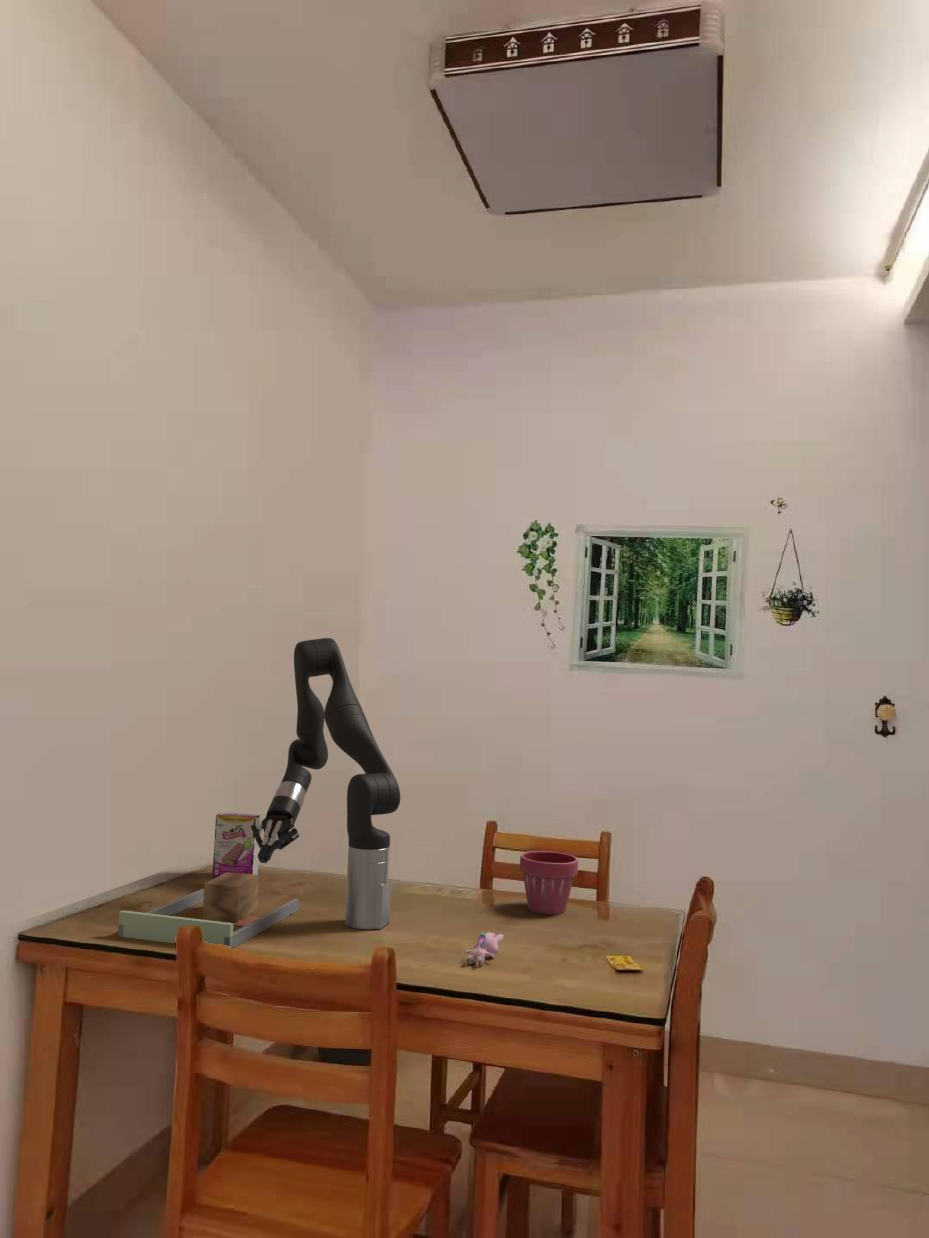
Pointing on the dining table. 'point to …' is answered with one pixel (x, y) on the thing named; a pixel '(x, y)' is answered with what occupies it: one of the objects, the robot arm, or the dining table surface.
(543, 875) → the plant pot
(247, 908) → the walnut block
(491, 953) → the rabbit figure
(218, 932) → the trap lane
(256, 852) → the candy bar box
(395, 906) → the dining table surface
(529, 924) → the dining table surface
